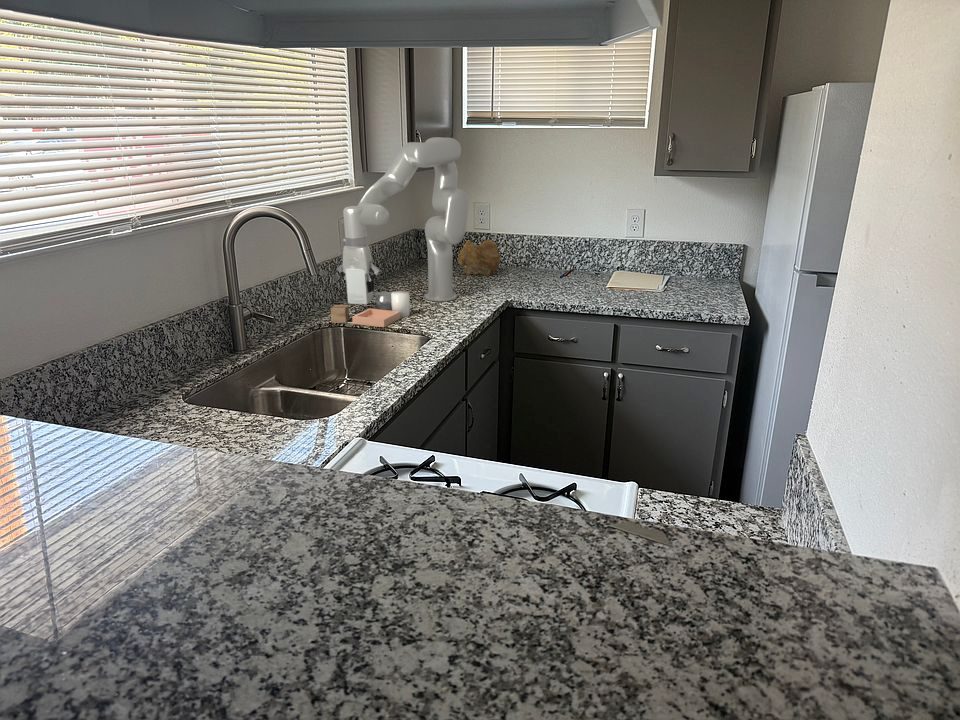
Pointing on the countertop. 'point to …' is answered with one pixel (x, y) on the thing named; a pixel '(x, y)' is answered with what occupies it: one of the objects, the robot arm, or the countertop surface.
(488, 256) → the rough brown rock
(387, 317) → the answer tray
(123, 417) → the countertop surface
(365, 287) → the supplement box
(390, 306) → the grey tin
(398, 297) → the white rounded lump
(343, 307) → the walnut block
